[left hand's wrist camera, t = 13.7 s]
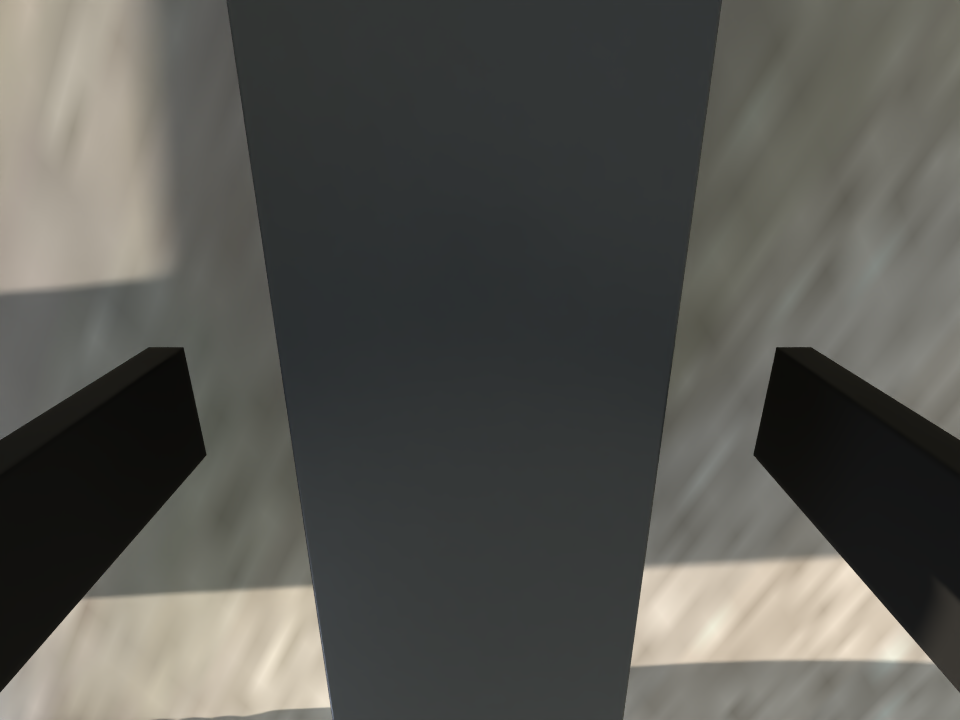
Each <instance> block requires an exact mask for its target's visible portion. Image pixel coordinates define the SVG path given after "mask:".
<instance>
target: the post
mask: <svg viewBox="0 0 960 720" xmlns="http://www.w3.org/2000/svg"><path fill="white" fill-rule="evenodd" d="M721 3H722V0H227V6H228V13H229V20H230V27H231V34H232V40H233V47H234V54H235V61H236V67H237V74H238V81H239V88H240V95H241V101H242V108H243V115H244V122H245V128H246V135H247V142H248V149H249V156H250V162H251V169H252V176H253V183H254V190H255V196H256V203H257V210H258V217H259V223H260V230H261V237H262V244H263V251H264V257H265V264H266V271H267V278H268V284H269V291H270V298H271V305H272V312H273V318H274V325H275V332H276V339H277V345H278V352H279V359H280V366H281V373H282V379H283V386H284V393H285V400H286V407H287V413H288V420H289V427H290V434H291V440H292V447H293V454H294V461H295V468H296V474H297V481H298V488H299V495H300V501H301V508H302V515H303V522H304V529H305V535H306V542H307V549H308V556H309V562H310V569H311V576H312V583H313V590H314V596H315V603H316V610H317V617H318V624H319V630H320V637H321V644H322V651H323V657H324V664H325V671H326V678H327V685H328V691H329V698H330V705H331V712H332V718H333V720H623V716H624V708H625V701H626V694H627V686H628V679H629V672H630V665H631V657H632V650H633V643H634V636H635V628H636V621H637V614H638V607H639V599H640V592H641V585H642V577H643V570H644V563H645V556H646V548H647V541H648V534H649V527H650V519H651V512H652V505H653V498H654V490H655V483H656V476H657V468H658V461H659V454H660V447H661V439H662V432H663V425H664V418H665V410H666V403H667V396H668V389H669V381H670V374H671V367H672V359H673V352H674V345H675V338H676V330H677V323H678V316H679V309H680V301H681V294H682V287H683V280H684V272H685V265H686V258H687V250H688V243H689V236H690V229H691V221H692V214H693V207H694V200H695V192H696V185H697V178H698V171H699V163H700V156H701V149H702V142H703V134H704V127H705V120H706V112H707V105H708V98H709V91H710V83H711V76H712V69H713V62H714V54H715V47H716V40H717V33H718V25H719V18H720V11H721Z"/></svg>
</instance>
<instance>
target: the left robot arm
mask: <svg viewBox="0 0 960 720" xmlns="http://www.w3.org/2000/svg"><path fill="white" fill-rule="evenodd" d="M205 456H206V450H205V446H204V441H203V436H202V432H201V427H200V422H199V418H198V413H197V408H196V404H195V399H194V394H193V390H192V385H191V380H190V376H189V371H188V366H187V362H186V357H185V352H184V348H183V347H149V348H147V349H145V350H144V351H142V352H141V353H139V354H137V355H136V356H134V357H133V358H131V359H129V360H128V361H126V362H125V363H123V364H121V365H120V366H118V367H117V368H115V369H113V370H112V371H110V372H109V373H107V374H105V375H104V376H102V377H101V378H99V379H97V380H96V381H94V382H93V383H91V384H89V385H88V386H86V387H85V388H83V389H81V390H80V391H78V392H77V393H75V394H73V395H72V396H70V397H69V398H67V399H65V400H64V401H62V402H61V403H59V404H57V405H56V406H54V407H53V408H51V409H49V410H48V411H46V412H45V413H43V414H41V415H40V416H38V417H37V418H35V419H33V420H32V421H30V422H29V423H27V424H25V425H24V426H22V427H21V428H19V429H17V430H16V431H14V432H13V433H11V434H9V435H8V436H6V437H5V438H3V439H1V440H0V692H1V691H2V690H3V689H4V688H5V686H6V685H7V684H8V683H9V682H10V681H11V679H12V678H13V677H14V676H15V675H16V674H17V673H18V671H19V670H20V669H21V668H22V667H23V666H24V665H25V663H26V662H27V661H28V660H29V659H30V658H31V656H32V655H33V654H34V653H35V652H36V651H37V650H38V648H39V647H40V646H41V645H42V644H43V643H44V642H45V640H46V639H47V638H48V637H49V636H50V635H51V633H52V632H53V631H54V630H55V629H56V628H57V627H58V625H59V624H60V623H61V622H62V621H63V620H64V619H65V617H66V616H67V615H68V614H69V613H70V612H71V610H72V609H73V608H74V607H75V606H76V605H77V604H78V602H79V601H80V600H81V599H82V598H83V597H84V595H85V594H86V593H87V592H88V591H89V590H90V589H91V587H92V586H93V585H94V584H95V583H96V582H97V581H98V579H99V578H100V577H101V576H102V575H103V574H104V572H105V571H106V570H107V569H108V568H109V567H110V566H111V564H112V563H113V562H114V561H115V560H116V559H117V558H118V556H119V555H120V554H121V553H122V552H123V551H124V549H125V548H126V547H127V546H128V545H129V544H130V543H131V541H132V540H133V539H134V538H135V537H136V536H137V535H138V533H139V532H140V531H141V530H142V529H143V528H144V526H145V525H146V524H147V523H148V522H149V521H150V520H151V518H152V517H153V516H154V515H155V514H156V513H157V512H158V510H159V509H160V508H161V507H162V506H163V505H164V503H165V502H166V501H167V500H168V499H169V498H170V497H171V495H172V494H173V493H174V492H175V491H176V490H177V489H178V487H179V486H180V485H181V484H182V483H183V482H184V480H185V479H186V478H187V477H188V476H189V475H190V474H191V472H192V471H193V470H194V469H195V468H196V467H197V465H198V464H199V463H200V462H201V461H202V460H203V459H204V457H205ZM754 456H755V457H756V459H757V460H758V461H759V462H760V463H761V464H762V465H763V467H764V468H765V469H766V470H767V471H768V472H769V474H770V475H771V476H772V477H773V478H774V479H775V480H776V482H777V483H778V484H779V485H780V486H781V487H782V489H783V490H784V491H785V492H786V493H787V494H788V495H789V497H790V498H791V499H792V500H793V501H794V502H795V503H796V505H797V506H798V507H799V508H800V509H801V510H802V512H803V513H804V514H805V515H806V516H807V517H808V518H809V520H810V521H811V522H812V523H813V524H814V525H815V526H816V528H817V529H818V530H819V531H820V532H821V533H822V535H823V536H824V537H825V538H826V539H827V540H828V541H829V543H830V544H831V545H832V546H833V547H834V548H835V549H836V551H837V552H838V553H839V554H840V555H841V556H842V558H843V559H844V560H845V561H846V562H847V563H848V564H849V566H850V567H851V568H852V569H853V570H854V571H855V572H856V574H857V575H858V576H859V577H860V578H861V579H862V581H863V582H864V583H865V584H866V585H867V586H868V587H869V589H870V590H871V591H872V592H873V593H874V594H875V596H876V597H877V598H878V599H879V600H880V601H881V602H882V604H883V605H884V606H885V607H886V608H887V609H888V610H889V612H890V613H891V614H892V615H893V616H894V617H895V619H896V620H897V621H898V622H899V623H900V624H901V625H902V627H903V628H904V629H905V630H906V631H907V632H908V633H909V635H910V636H911V637H912V638H913V639H914V640H915V642H916V643H917V644H918V645H919V646H920V647H921V648H922V650H923V651H924V652H925V653H926V654H927V655H928V656H929V658H930V659H931V660H932V661H933V662H934V663H935V665H936V666H937V667H938V668H939V669H940V670H941V671H942V673H943V674H944V675H945V676H946V677H947V678H948V679H949V681H950V682H951V683H952V684H953V685H954V686H955V688H956V689H957V690H958V691H959V692H960V440H959V439H957V438H955V437H954V436H952V435H951V434H949V433H947V432H946V431H944V430H943V429H941V428H939V427H938V426H936V425H935V424H933V423H931V422H930V421H928V420H927V419H925V418H923V417H922V416H920V415H919V414H917V413H915V412H914V411H912V410H911V409H909V408H907V407H906V406H904V405H903V404H901V403H899V402H898V401H896V400H895V399H893V398H891V397H890V396H888V395H887V394H885V393H883V392H882V391H880V390H879V389H877V388H875V387H874V386H872V385H871V384H869V383H867V382H866V381H864V380H863V379H861V378H859V377H858V376H856V375H855V374H853V373H851V372H850V371H848V370H847V369H845V368H843V367H842V366H840V365H839V364H837V363H835V362H834V361H832V360H831V359H829V358H827V357H826V356H824V355H823V354H821V353H819V352H818V351H816V350H815V349H813V348H811V347H777V348H776V352H775V357H774V362H773V366H772V371H771V376H770V380H769V385H768V390H767V394H766V399H765V404H764V408H763V413H762V418H761V422H760V427H759V432H758V436H757V441H756V446H755V450H754Z"/></svg>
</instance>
